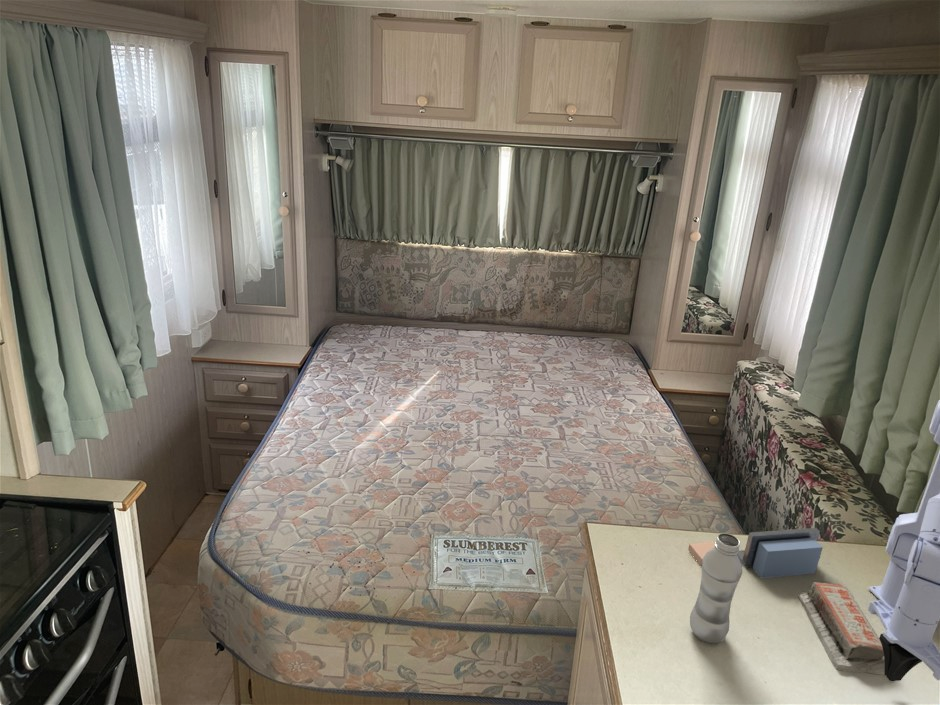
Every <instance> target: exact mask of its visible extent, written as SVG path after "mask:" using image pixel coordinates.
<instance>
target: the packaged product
mask: <svg viewBox="0 0 940 705" xmlns="http://www.w3.org/2000/svg"><path fill="white" fill-rule="evenodd" d="M797 597H798V599H799V602H800V603H801V605H802V607H803V609H804V611H805V613H806V615H807V617H808V621H809V622H810V624H811V626H812V628H813V630H814V632H815V633H816V635H817V638H818V639H819V641H820V643H821V645H822V647H823V649H824V650H825V652H826V654H827V657H829V660H830V661H831V663H832V665H833V667H834V669H835V670H838V671H847V672H856V673H862V674H863V673H864V674H872V675H873V674H874V675H875V674H876V675H882V676H883V675H884V676H885V662H884V652H883V647H882V644H881V641H880V639H879V637H880V636H878V634H877V632H876V631H875V630H874V628H873V627H872V625H871V623H870V621H869V620H868V618H867V616H866V615H865V613H864V611H862V609H861V607H860V606H859V604H858V602H857V601H856V599H855V597H854V596H853V594H852V593H851V591H850V590H849V588H847V587H846V586H843V585H842V584H835V583H828V582H816V581H815V582H812V584H811V585H810V589H809V590H808V592H804V591H801V592H799V593H798V595H797Z"/></svg>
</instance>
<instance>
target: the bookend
mask: <svg viewBox="0 0 940 705" xmlns="http://www.w3.org/2000/svg"><path fill="white" fill-rule="evenodd" d="M820 532H821V531H820V530H819V529H818V528H817V527H810V528H809V527H806V528H795V529H781V530H780V529H779V530H778V529H777V530H767V531H755V532H754V531H751V532H749V533H748V536H747V540H746V545H745V547H744V549H743V550H739V553H738V554H737V556H738V557H739V559H740V562H741V564H742V567H744V568H751V567H752V568H753V565H754V561H755V557H756V553H757V549H758V545H759V542H765V541H778V540H791V539H805V538H814V539H815V540H816V541H817V542H818V539H819V536H820Z"/></svg>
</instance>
